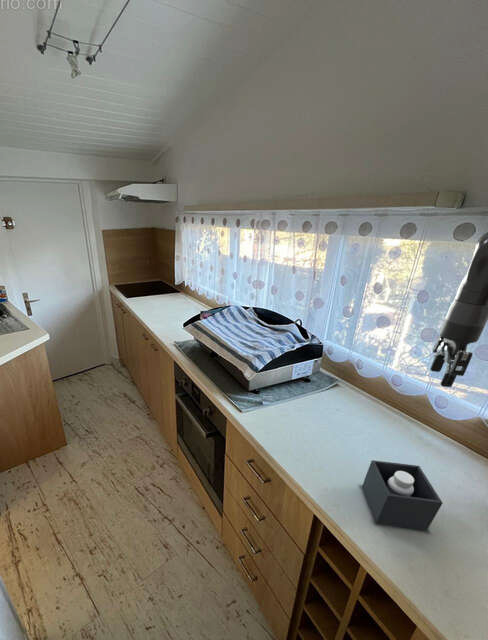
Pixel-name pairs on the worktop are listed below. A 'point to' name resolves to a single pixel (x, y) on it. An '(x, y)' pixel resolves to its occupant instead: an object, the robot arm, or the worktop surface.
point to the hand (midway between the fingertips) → (439, 378)
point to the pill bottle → (401, 484)
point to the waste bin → (400, 497)
